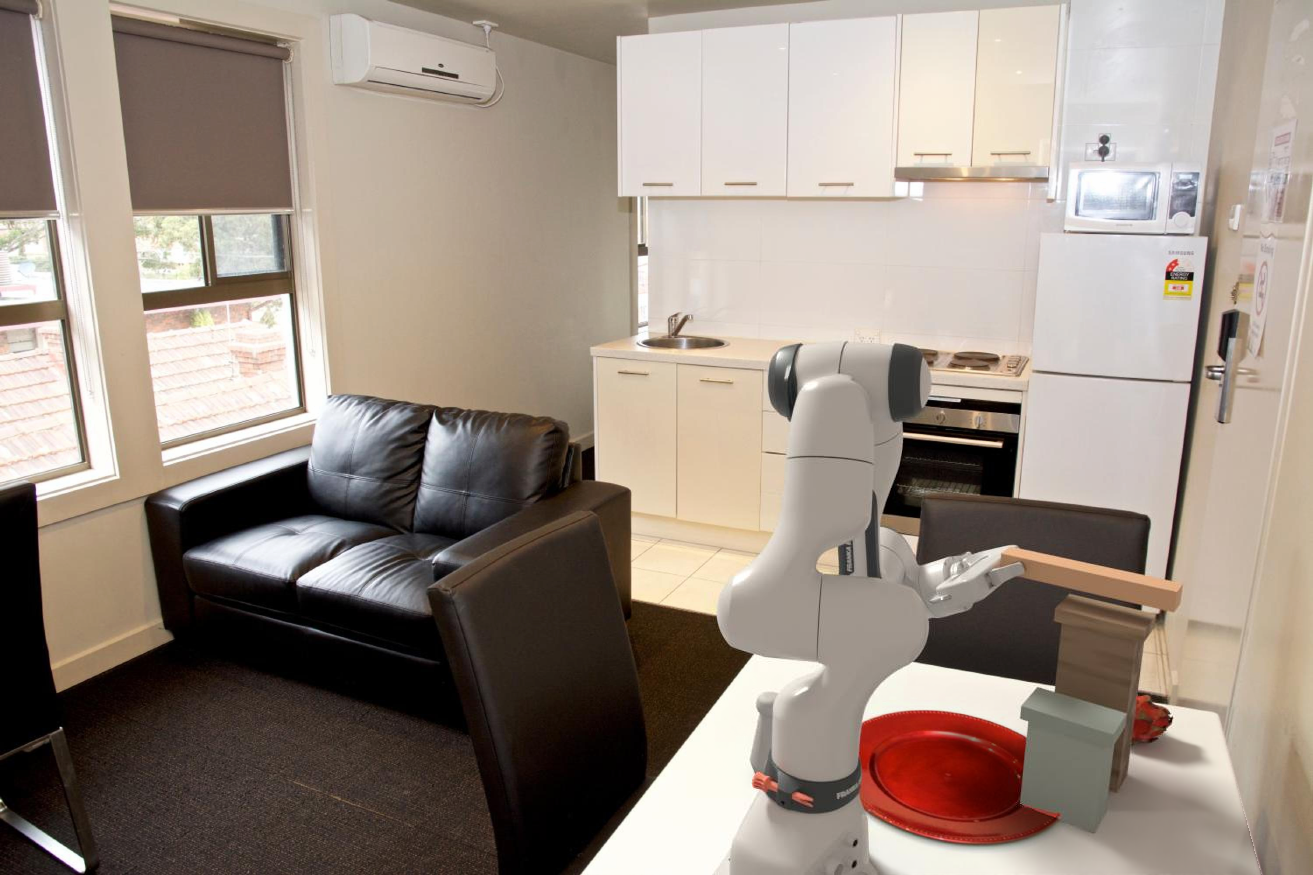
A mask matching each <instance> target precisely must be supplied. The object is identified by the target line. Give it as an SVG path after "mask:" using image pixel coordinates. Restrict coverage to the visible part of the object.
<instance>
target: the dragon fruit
mask: <svg viewBox="0 0 1313 875" xmlns="http://www.w3.org/2000/svg"><path fill="white" fill-rule="evenodd" d="M1170 715H1172V712H1170V710H1169V709H1168V708H1167V707H1166V706H1165V707H1164V706H1162V705H1158V704H1156V703H1154V702H1153V701H1152V697H1151V695H1148V694H1144V695H1142V696H1141V695H1137V702H1136V710H1135V718H1134V726H1133V734H1132V741H1131V745H1136V744H1137V743H1138V741H1142V742H1146V743H1147V744H1152V743H1154V742H1156V741H1158V740H1159V736H1160V735H1162V734H1163V733H1164V732H1167V731H1168V730H1167V729H1168V728H1170V727H1171V725H1172V724H1173V720H1174V716H1173V715H1172V716H1170Z"/></svg>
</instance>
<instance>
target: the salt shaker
mask: <svg viewBox="0 0 1313 875" xmlns="http://www.w3.org/2000/svg"><path fill="white" fill-rule="evenodd" d="M778 694H779V692H776V691H765V692H762V693H760V694H759V695H758V696H757V698H756V701H755V707H756V709H757V712H758V714H759V715H758V718H757V724H756V729H755V734H754V738H753V742H752V748H751V751H750V752H751V753H750V757H749V763H750V764H751V767H752V771H753V772H754V775H755V774H756V773H757V772H760V773H762V774H764V771H765V768H764V767H765V763H766V760H767V758H768V754H769V751H770V749H771V747H772V721H773V704H774V701H775V699H776V697H777V695H778Z"/></svg>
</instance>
